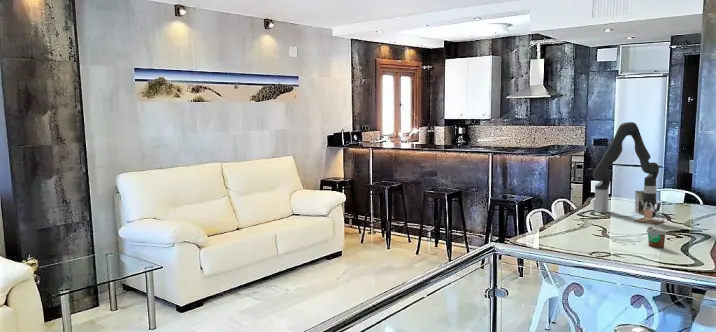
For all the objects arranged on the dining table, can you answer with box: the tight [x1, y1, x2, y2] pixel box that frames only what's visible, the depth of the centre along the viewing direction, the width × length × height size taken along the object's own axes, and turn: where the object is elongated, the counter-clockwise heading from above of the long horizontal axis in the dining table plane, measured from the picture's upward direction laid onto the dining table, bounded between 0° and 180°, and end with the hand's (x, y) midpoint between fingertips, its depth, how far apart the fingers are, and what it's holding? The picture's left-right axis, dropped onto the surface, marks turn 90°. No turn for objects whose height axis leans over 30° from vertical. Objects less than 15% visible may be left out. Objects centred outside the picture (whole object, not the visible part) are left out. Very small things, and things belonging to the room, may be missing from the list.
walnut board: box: [634, 217, 665, 226], centre depth 363 cm, size 14×12×1 cm
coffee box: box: [634, 190, 652, 215], centre depth 393 cm, size 9×6×16 cm
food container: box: [646, 226, 667, 249], centre depth 302 cm, size 12×6×10 cm, turn 5°
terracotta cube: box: [643, 209, 656, 219], centre depth 363 cm, size 5×5×5 cm
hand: (649, 216), depth 363 cm, fingers closed on terracotta cube, 5 cm apart
